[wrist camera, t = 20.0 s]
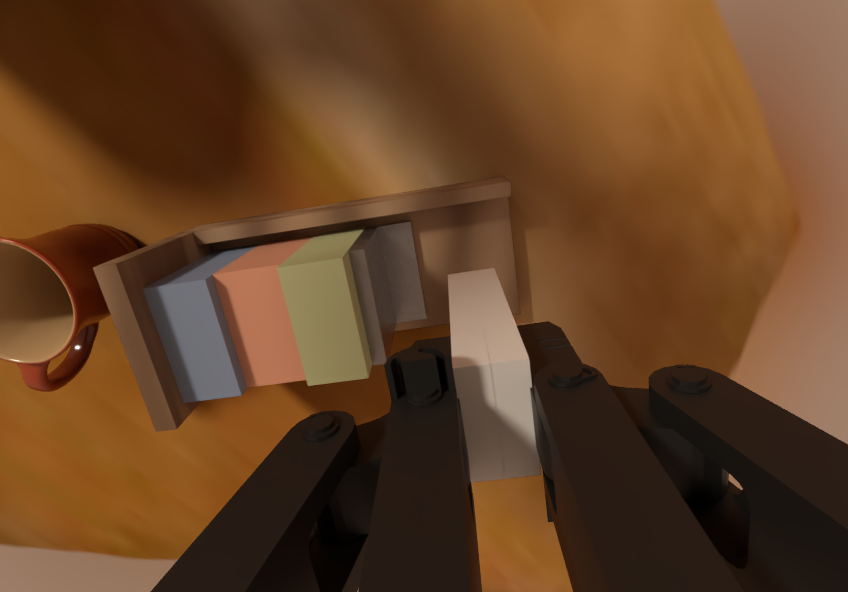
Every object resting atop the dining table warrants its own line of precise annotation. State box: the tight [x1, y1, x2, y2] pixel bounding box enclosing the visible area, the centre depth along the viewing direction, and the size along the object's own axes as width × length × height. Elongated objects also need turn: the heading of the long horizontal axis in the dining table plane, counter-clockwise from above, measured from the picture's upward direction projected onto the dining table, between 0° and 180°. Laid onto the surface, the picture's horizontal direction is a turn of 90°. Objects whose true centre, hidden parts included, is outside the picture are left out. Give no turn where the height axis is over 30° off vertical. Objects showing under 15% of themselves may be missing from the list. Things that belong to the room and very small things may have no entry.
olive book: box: [277, 226, 372, 386], centre depth 35 cm, size 4×8×10 cm, turn 9°
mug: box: [0, 224, 139, 392], centre depth 37 cm, size 12×9×10 cm
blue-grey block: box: [143, 243, 261, 403], centre depth 36 cm, size 4×8×10 cm, turn 9°
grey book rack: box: [93, 177, 520, 432], centre depth 35 cm, size 25×11×13 cm, turn 99°
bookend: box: [348, 220, 427, 365], centre depth 36 cm, size 4×8×8 cm, turn 9°
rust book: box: [212, 235, 315, 388], centre depth 36 cm, size 4×8×9 cm, turn 9°
